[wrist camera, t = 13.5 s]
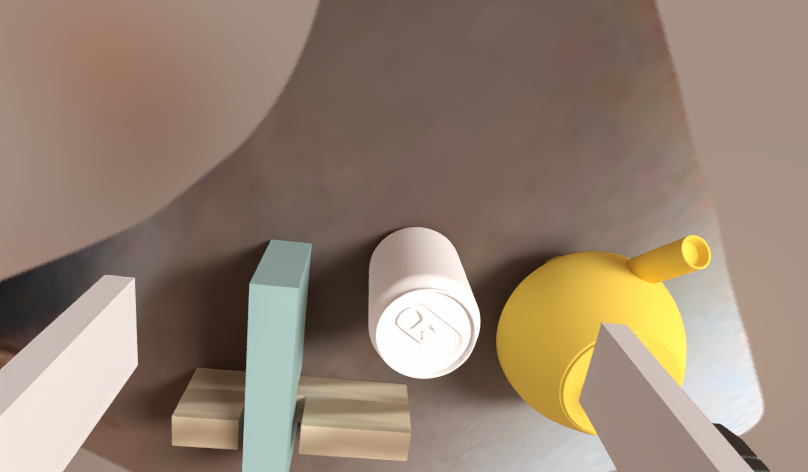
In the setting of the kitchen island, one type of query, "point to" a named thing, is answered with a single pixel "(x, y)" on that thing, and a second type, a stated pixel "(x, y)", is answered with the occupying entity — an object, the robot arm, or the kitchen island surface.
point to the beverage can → (421, 304)
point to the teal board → (274, 355)
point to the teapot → (591, 321)
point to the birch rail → (300, 415)
